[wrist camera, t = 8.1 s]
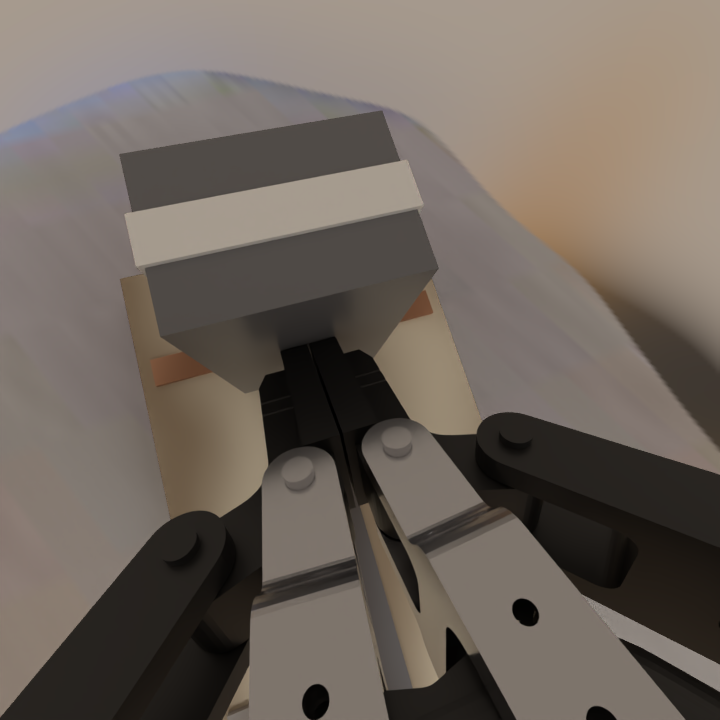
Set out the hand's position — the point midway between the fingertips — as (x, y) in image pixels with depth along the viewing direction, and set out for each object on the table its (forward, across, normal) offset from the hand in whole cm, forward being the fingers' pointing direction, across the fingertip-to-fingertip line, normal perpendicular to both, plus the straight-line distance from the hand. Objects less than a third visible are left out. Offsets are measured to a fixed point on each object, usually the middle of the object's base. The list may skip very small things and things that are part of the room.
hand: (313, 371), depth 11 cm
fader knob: (+4, 0, +1) cm, 5 cm away
